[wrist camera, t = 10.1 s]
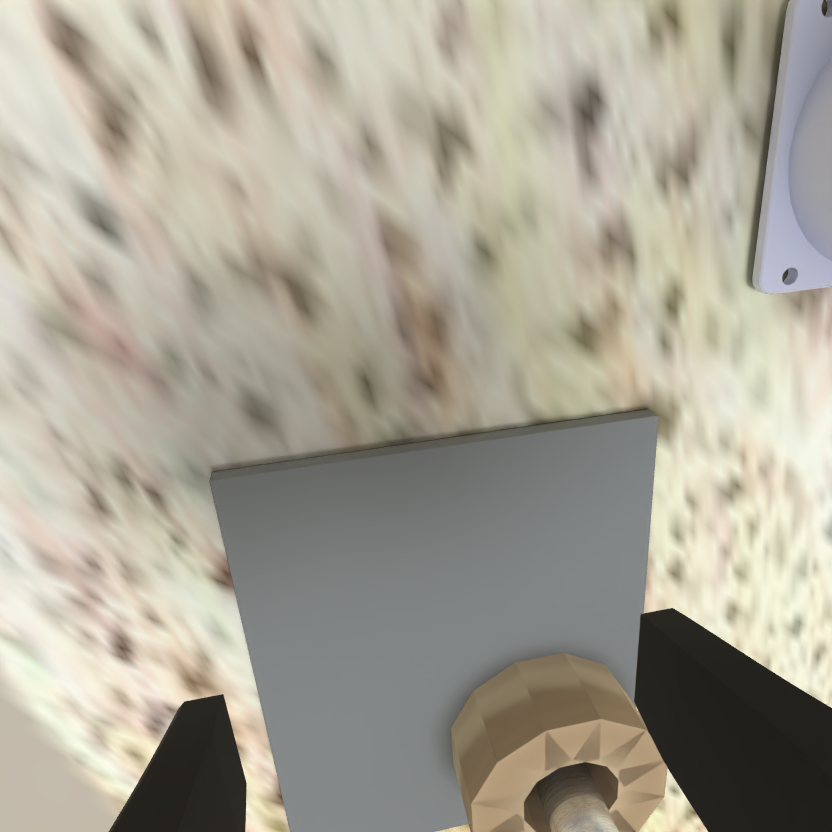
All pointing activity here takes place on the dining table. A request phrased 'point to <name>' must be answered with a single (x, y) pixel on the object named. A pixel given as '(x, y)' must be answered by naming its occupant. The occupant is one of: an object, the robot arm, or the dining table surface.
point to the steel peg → (574, 801)
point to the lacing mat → (428, 598)
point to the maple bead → (553, 744)
